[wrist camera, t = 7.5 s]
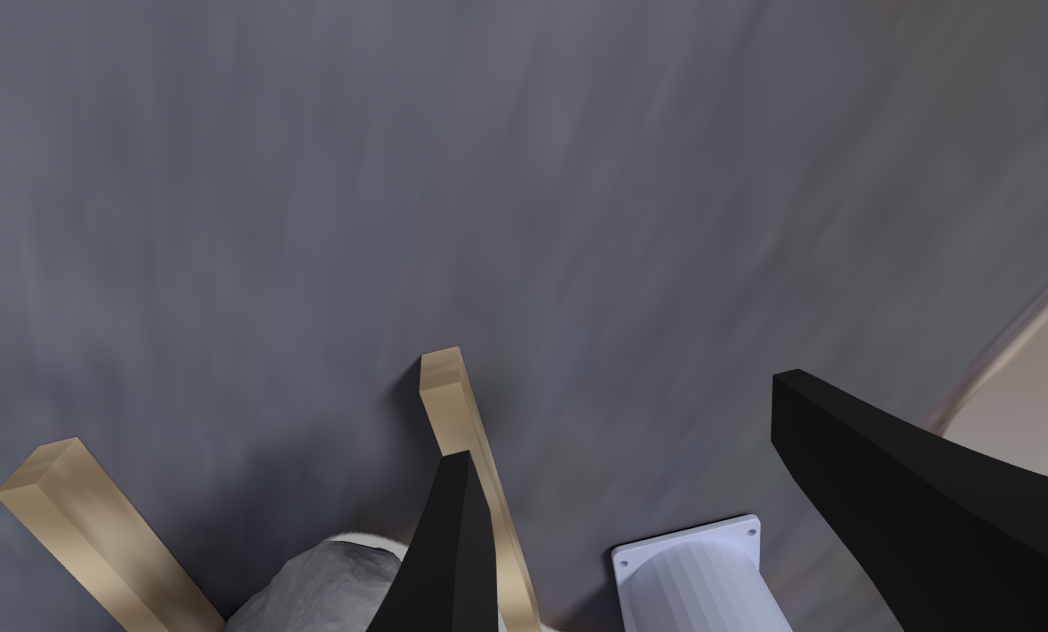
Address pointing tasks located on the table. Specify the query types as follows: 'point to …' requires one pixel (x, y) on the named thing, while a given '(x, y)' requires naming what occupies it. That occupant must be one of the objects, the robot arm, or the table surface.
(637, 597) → the robot arm
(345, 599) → the stone block
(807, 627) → the table surface
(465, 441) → the pair of wooden posts
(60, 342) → the table surface
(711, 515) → the table surface
